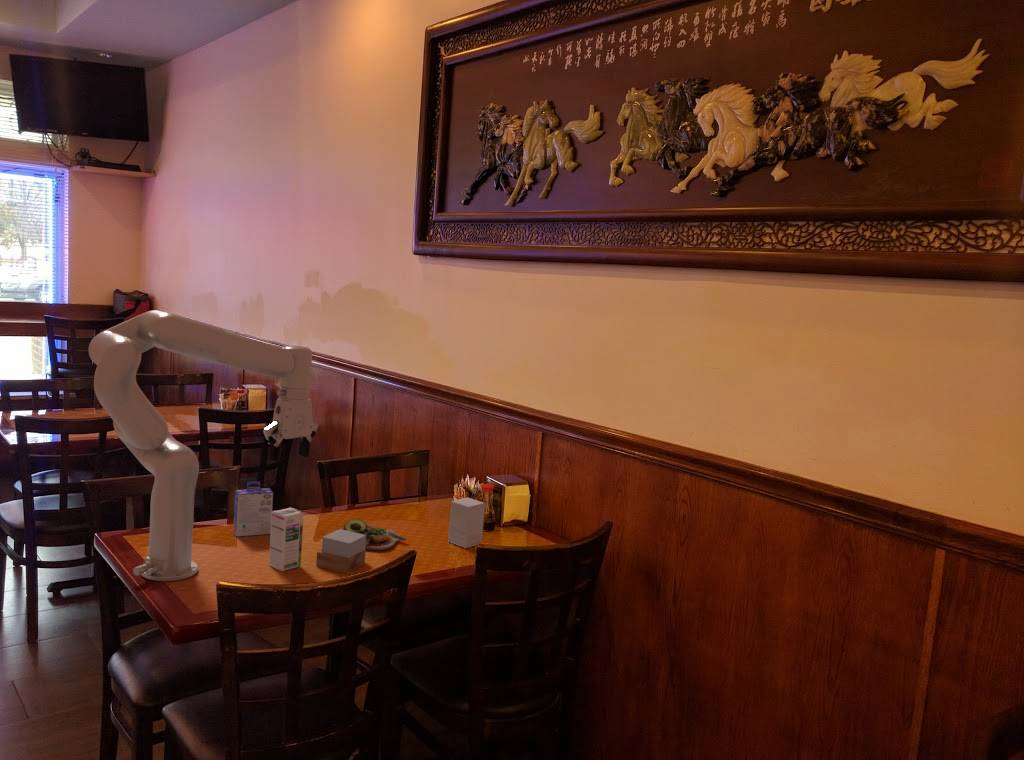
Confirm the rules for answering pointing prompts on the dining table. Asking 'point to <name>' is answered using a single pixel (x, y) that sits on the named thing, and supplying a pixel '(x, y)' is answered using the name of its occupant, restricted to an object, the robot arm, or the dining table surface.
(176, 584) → the dining table surface
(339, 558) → the walnut block
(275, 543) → the syrup box
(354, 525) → the salad plate
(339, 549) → the grey block
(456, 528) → the supplement box
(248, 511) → the ink cartridge box
